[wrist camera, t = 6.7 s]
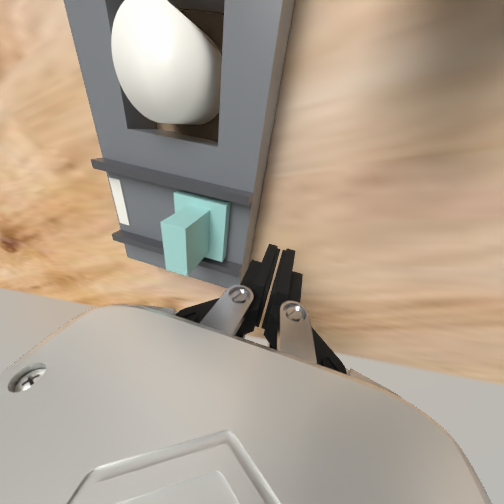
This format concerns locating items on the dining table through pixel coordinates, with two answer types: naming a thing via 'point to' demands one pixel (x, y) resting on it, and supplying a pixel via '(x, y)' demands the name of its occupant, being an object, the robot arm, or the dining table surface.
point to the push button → (166, 63)
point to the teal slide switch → (195, 231)
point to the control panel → (184, 146)
